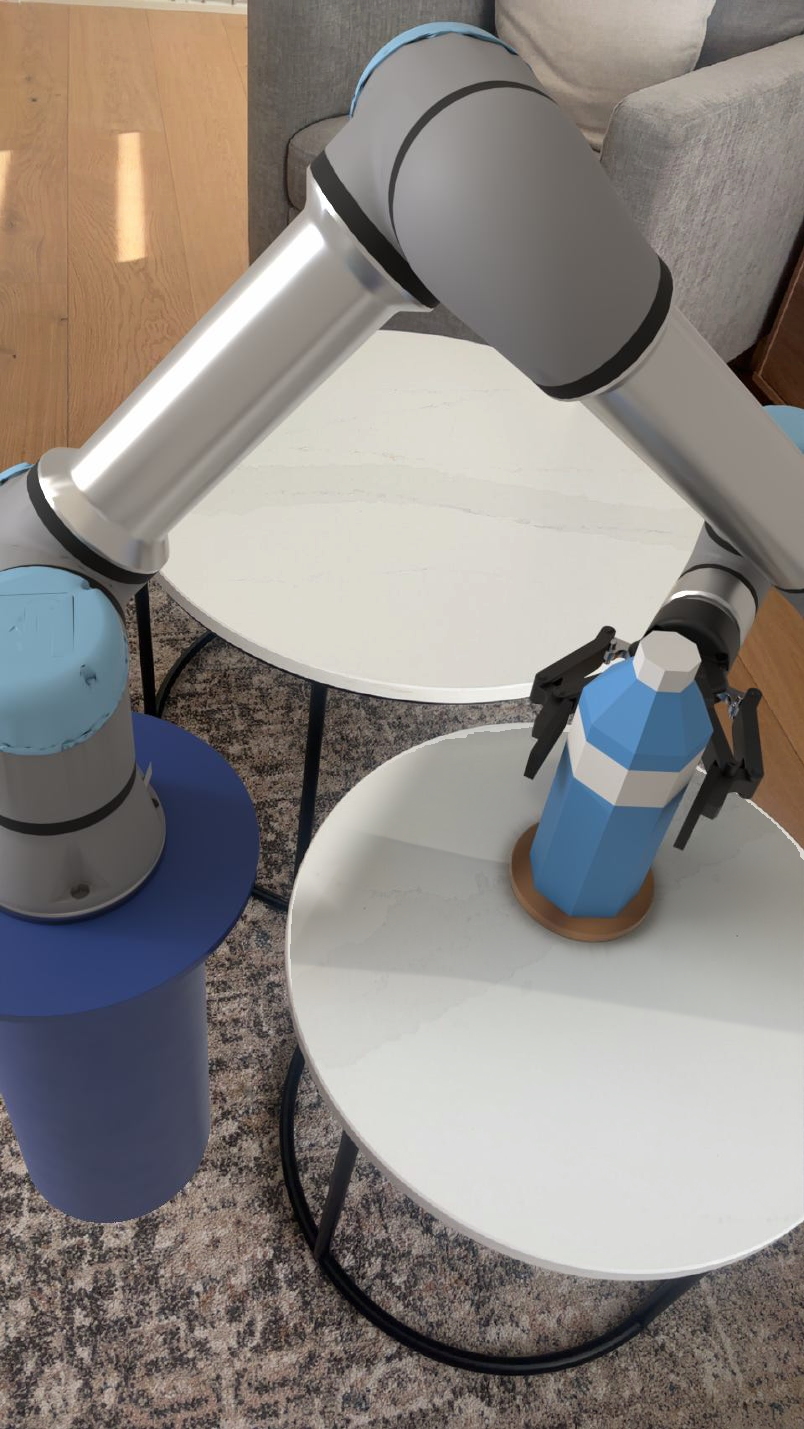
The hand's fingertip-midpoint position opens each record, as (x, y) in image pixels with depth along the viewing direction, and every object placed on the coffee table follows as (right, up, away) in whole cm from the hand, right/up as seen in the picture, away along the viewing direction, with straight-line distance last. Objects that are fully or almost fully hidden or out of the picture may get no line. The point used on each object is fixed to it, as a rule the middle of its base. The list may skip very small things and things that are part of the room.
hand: (605, 801), depth 78 cm
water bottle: (0, -7, +12) cm, 14 cm away
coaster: (0, -8, +13) cm, 15 cm away
